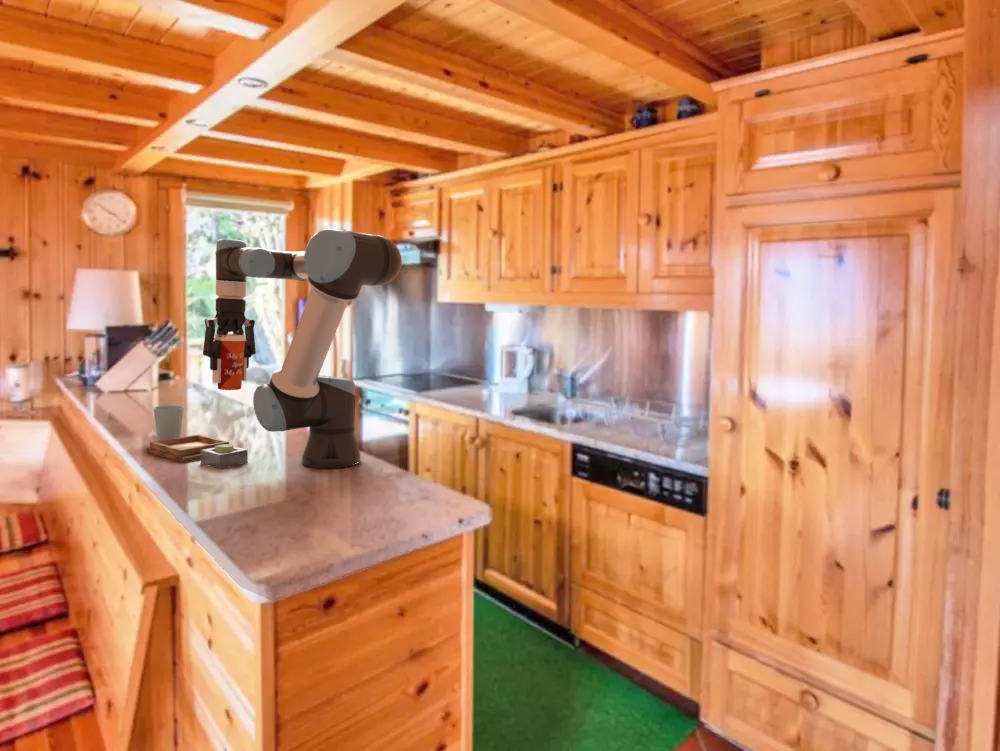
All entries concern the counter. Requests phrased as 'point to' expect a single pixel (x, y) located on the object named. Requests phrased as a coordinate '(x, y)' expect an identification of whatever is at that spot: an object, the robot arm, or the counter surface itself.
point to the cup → (168, 421)
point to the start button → (224, 448)
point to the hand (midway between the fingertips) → (229, 380)
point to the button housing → (224, 457)
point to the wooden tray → (184, 447)
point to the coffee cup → (231, 361)
